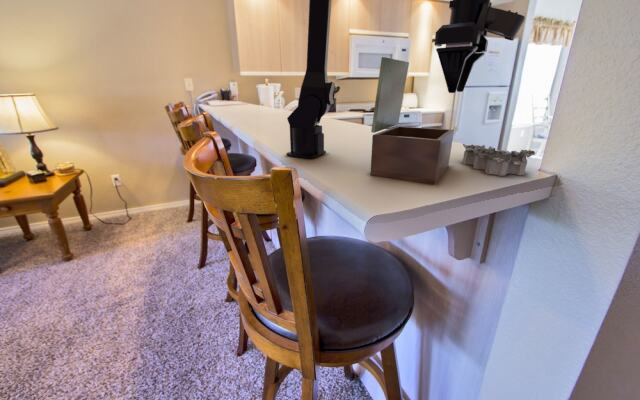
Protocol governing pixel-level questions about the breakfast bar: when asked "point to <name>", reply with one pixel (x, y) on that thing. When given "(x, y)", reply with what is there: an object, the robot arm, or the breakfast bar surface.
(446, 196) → the breakfast bar surface
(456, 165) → the breakfast bar surface
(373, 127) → the lid
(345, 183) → the breakfast bar surface
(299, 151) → the robot arm
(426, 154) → the box
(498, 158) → the egg carton
